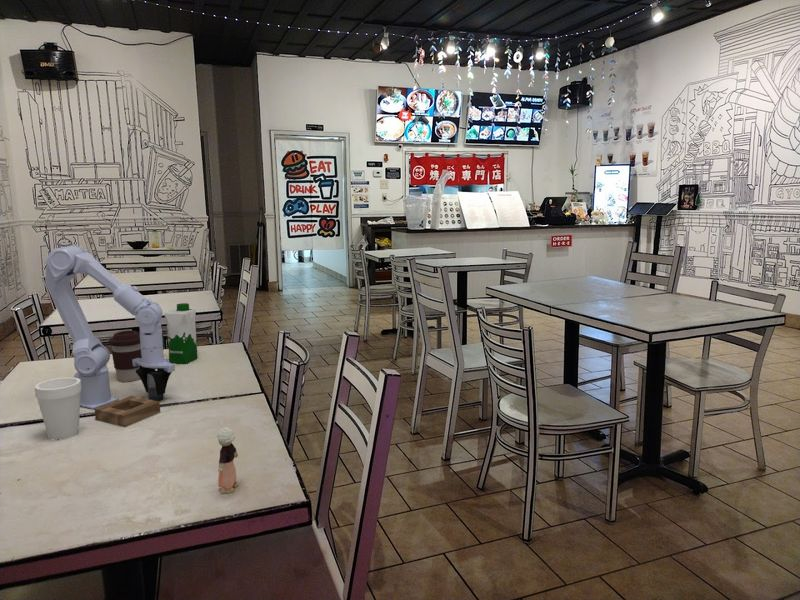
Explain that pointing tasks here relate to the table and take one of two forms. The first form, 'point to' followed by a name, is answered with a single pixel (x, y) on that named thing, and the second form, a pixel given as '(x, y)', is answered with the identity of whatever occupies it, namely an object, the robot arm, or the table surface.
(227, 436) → the grandmother figurine
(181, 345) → the milk carton
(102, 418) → the square wooden ring
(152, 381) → the round peg
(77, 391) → the foam cup
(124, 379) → the coffee cup
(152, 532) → the table surface
